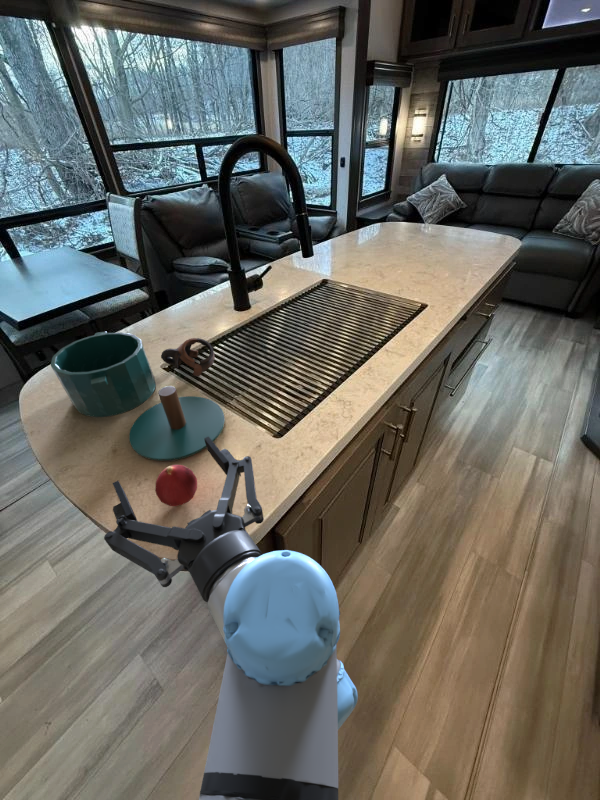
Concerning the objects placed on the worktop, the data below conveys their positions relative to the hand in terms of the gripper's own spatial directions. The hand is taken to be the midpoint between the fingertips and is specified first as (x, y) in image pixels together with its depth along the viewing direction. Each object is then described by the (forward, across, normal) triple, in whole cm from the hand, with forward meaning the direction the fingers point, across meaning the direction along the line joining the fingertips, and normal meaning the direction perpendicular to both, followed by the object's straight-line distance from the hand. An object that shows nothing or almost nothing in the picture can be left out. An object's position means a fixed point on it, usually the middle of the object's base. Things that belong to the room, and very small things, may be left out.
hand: (166, 463), depth 50 cm
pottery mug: (+32, +17, -6) cm, 37 cm away
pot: (+33, 0, -6) cm, 34 cm away
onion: (-3, 0, -6) cm, 7 cm away
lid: (+13, +6, -5) cm, 15 cm away
